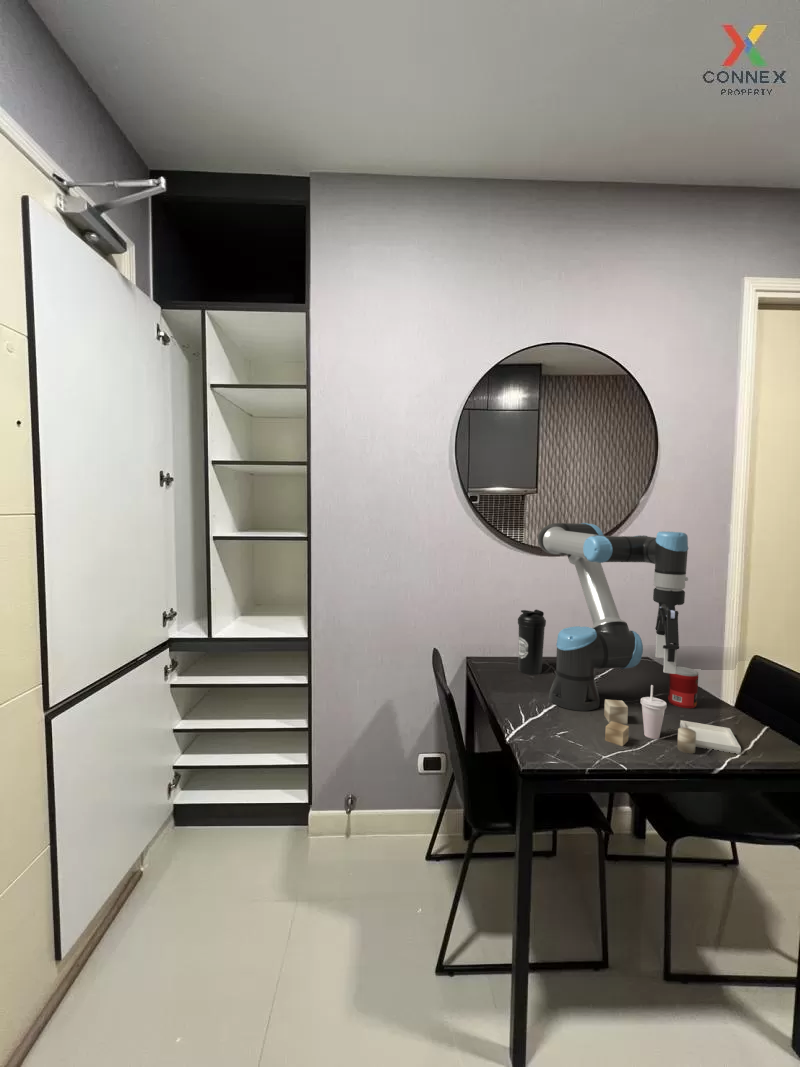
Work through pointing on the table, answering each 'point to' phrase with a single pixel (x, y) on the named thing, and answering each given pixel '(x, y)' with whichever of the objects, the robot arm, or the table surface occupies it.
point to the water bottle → (531, 641)
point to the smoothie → (652, 715)
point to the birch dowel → (686, 740)
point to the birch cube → (616, 711)
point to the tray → (713, 737)
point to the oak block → (616, 733)
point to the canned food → (683, 687)
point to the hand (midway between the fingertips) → (664, 665)
